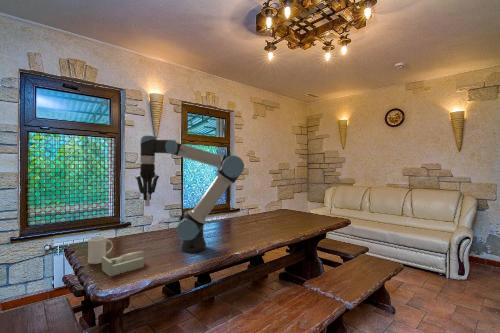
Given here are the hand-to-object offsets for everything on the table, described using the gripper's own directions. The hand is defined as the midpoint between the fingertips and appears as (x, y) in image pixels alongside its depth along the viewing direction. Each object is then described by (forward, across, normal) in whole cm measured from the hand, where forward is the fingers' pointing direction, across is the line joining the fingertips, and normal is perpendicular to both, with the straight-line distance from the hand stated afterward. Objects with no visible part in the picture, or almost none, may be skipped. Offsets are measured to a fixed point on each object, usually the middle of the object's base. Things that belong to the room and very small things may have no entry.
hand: (147, 205), depth 147 cm
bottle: (+25, +6, +7) cm, 26 cm away
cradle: (+28, +16, +8) cm, 34 cm away
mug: (+29, +20, -11) cm, 37 cm away
